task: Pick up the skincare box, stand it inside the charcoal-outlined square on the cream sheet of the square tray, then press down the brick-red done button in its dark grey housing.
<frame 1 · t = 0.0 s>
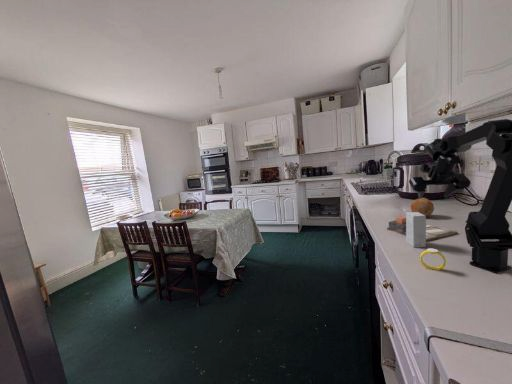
hand: (432, 197, 93), 15 cm above the worktop, tool tilted 35°, fingers open, 9 cm apart
square tray: (419, 231, 97), on the worktop
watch: (432, 268, 67), on the worktop
skincare box: (415, 244, 85), on the worktop
done button: (401, 220, 99), point 5 cm above the worktop, slide at 0.0 cm
onion: (422, 216, 116), on the worktop
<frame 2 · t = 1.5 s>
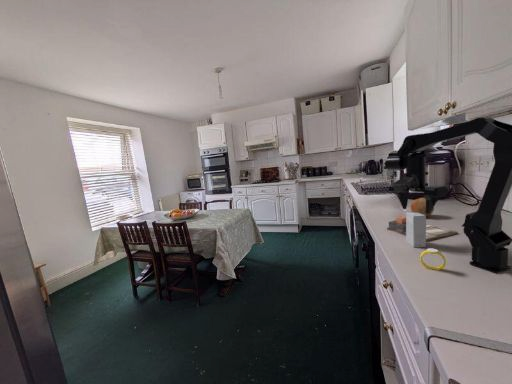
hand: (415, 211, 83), 13 cm above the worktop, tool pointing down, fingers open, 9 cm apart
nothing on the worktop moved.
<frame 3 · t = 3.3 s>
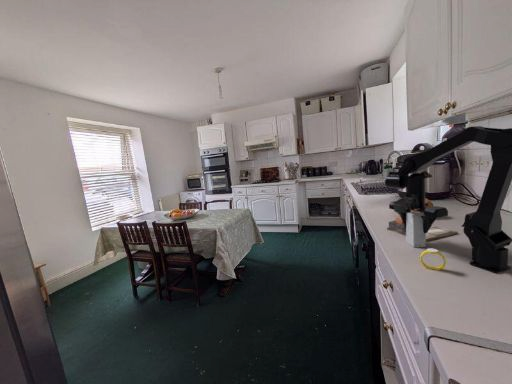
hand: (415, 230, 84), 6 cm above the worktop, tool pointing down, fingers closed on skincare box, 7 cm apart
skincare box: (415, 244, 85), on the worktop, touching gripper
everything else where it was.
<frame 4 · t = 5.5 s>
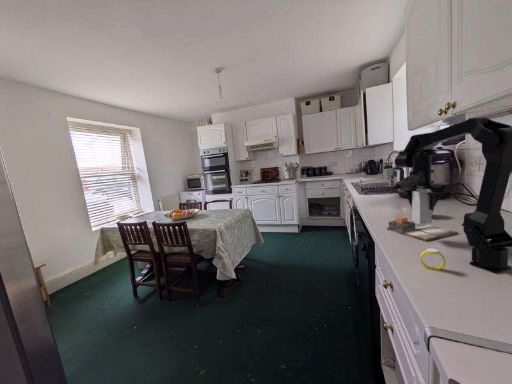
hand: (421, 208, 86), 13 cm above the worktop, tool pointing down, fingers closed on skincare box, 7 cm apart
skincare box: (421, 222, 87), point 7 cm above the worktop, touching gripper
everything else where it was.
when the fingers open (8 cm above the worktop, at t = 7.8 s): skincare box drops 1 cm, resting on square tray.
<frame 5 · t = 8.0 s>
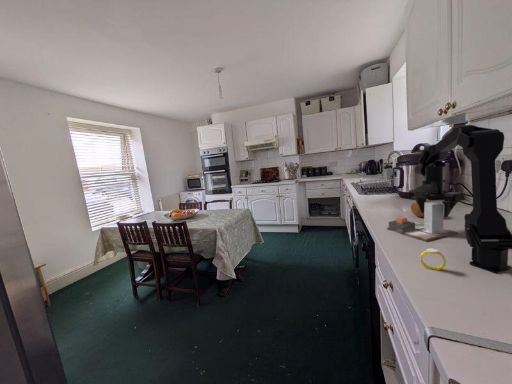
hand: (433, 214, 92), 8 cm above the worktop, tool pointing down, fingers open, 9 cm apart
skincare box: (433, 231, 93), point 1 cm above the worktop, touching square tray
everything else where it was.
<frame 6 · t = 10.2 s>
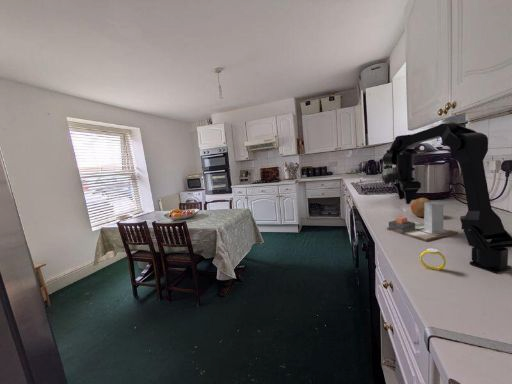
hand: (404, 201, 96), 14 cm above the worktop, tool pointing down, fingers open, 9 cm apart
nothing on the worktop moved.
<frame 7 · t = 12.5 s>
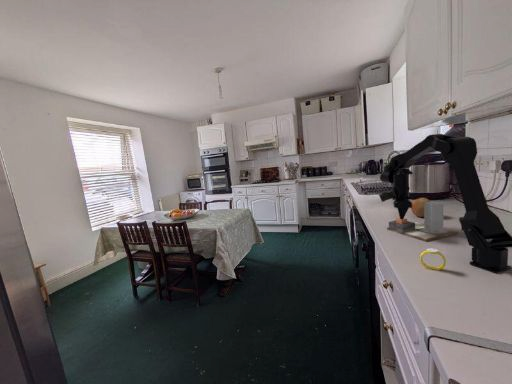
hand: (401, 218, 99), 5 cm above the worktop, tool pointing down, fingers closed, pressing on done button
done button: (401, 222, 99), point 4 cm above the worktop, slide at 0.6 cm, touching gripper
everything else where it was.
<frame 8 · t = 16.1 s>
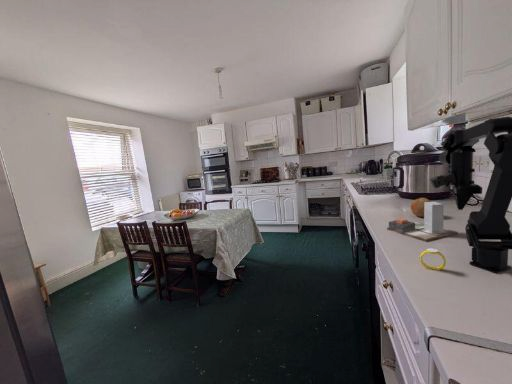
hand: (460, 209, 79), 13 cm above the worktop, tool pointing down, fingers closed
done button: (401, 222, 99), point 4 cm above the worktop, slide at 0.9 cm
everything else where it was.
at the end: skincare box 0.1 cm from the target spot, point 0.7 cm above the worktop; skincare box tilted 0°; done button slide at 0.9 cm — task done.
